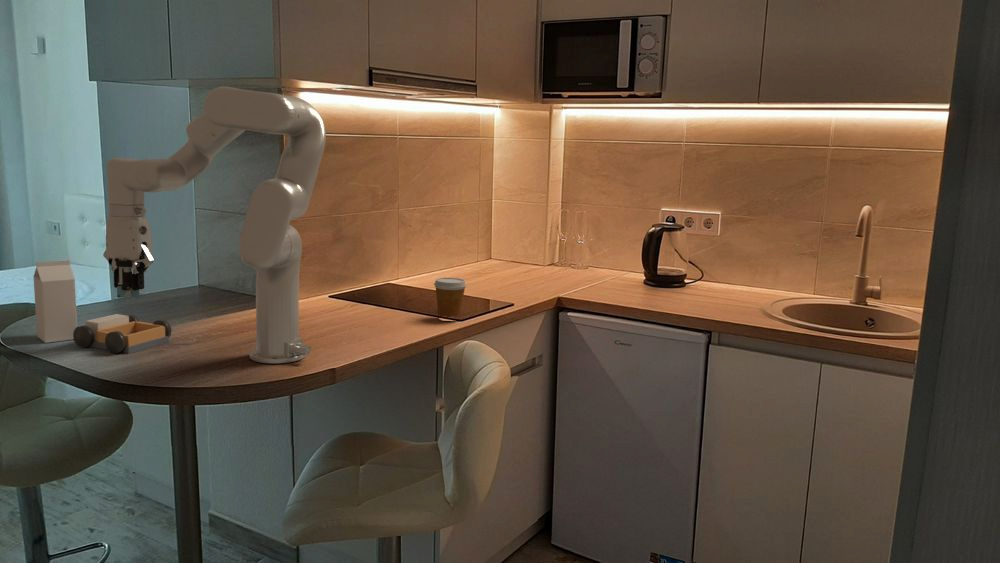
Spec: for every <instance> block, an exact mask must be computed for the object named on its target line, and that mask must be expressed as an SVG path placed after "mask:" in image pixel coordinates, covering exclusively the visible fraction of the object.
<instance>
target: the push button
mask: <svg viewBox="0 0 1000 563" xmlns="http://www.w3.org/2000/svg"><path fill="white" fill-rule="evenodd" d="M115 261H116V266H118V267H119V283H118V285H117V288H116V296H117V298H119V299H120V298H138V297H140V295H147V292H146V293H145V292H143V291H146V289H141V290H135V291H134V290H132V286H131V274H133V269H132V265H131V262H132V261H128V260H125V259H124V256H120V257H119V258H118V259H115ZM137 266H139V262H138V263H137ZM122 268H123V270H124V271H123V285H122ZM140 292H143V293H140Z"/></svg>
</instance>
